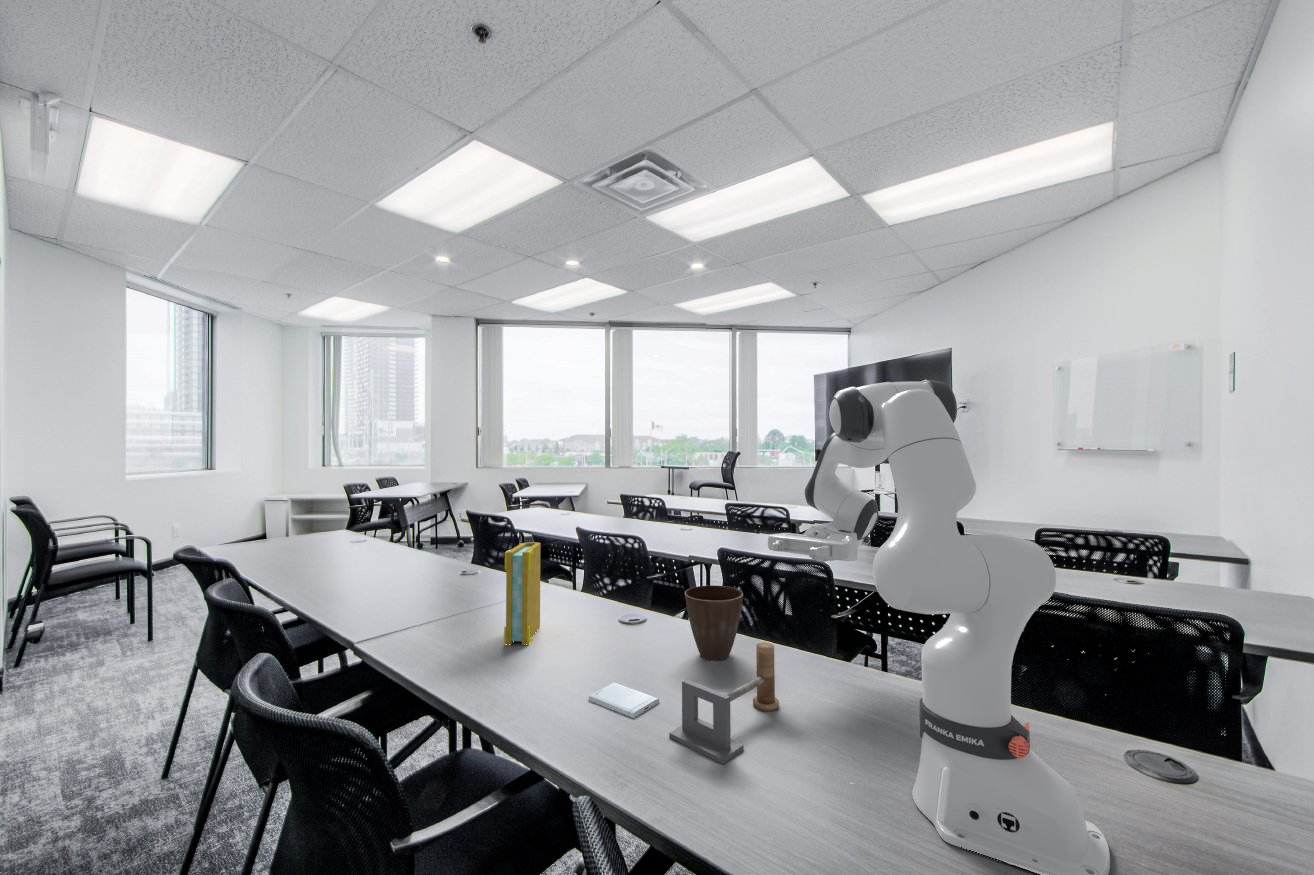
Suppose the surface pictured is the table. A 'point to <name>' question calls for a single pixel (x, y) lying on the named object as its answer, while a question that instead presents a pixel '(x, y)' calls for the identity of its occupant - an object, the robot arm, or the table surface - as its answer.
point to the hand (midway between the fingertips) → (793, 549)
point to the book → (522, 592)
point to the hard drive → (623, 699)
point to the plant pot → (714, 619)
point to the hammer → (761, 680)
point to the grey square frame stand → (706, 724)
